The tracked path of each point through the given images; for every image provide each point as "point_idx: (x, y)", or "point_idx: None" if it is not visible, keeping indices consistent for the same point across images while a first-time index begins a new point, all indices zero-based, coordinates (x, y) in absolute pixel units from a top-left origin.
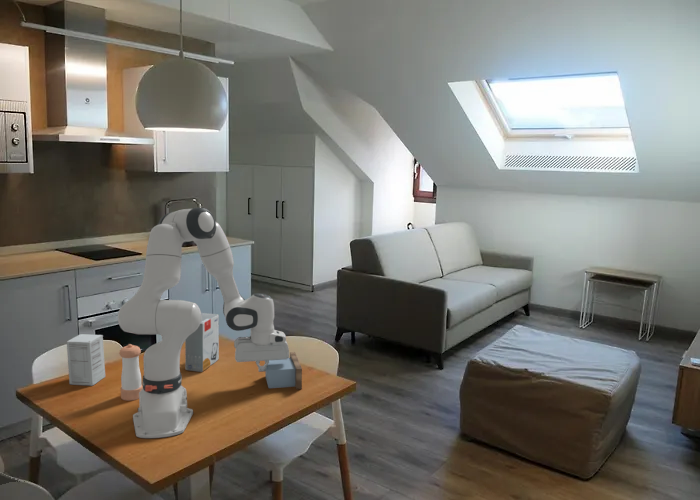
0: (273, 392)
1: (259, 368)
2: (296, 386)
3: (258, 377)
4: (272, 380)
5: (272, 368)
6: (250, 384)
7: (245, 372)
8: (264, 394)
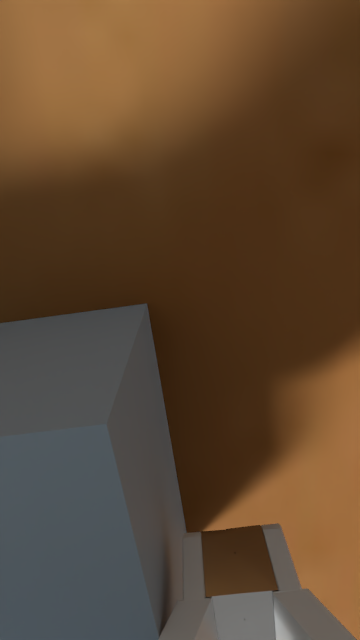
0: (83, 189)
1: (286, 572)
2: None
3: (245, 526)
4: (84, 339)
5: (32, 523)
6: (321, 400)
7: (341, 603)
8: (182, 134)
